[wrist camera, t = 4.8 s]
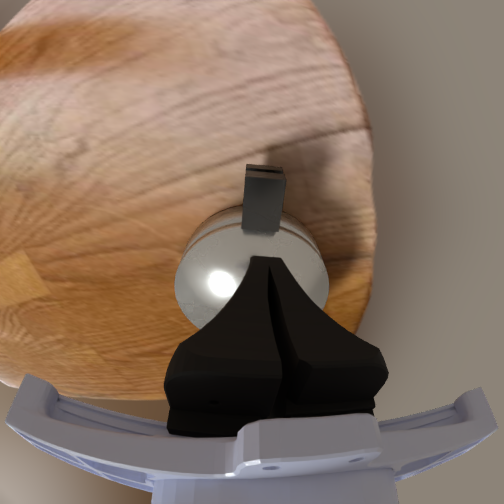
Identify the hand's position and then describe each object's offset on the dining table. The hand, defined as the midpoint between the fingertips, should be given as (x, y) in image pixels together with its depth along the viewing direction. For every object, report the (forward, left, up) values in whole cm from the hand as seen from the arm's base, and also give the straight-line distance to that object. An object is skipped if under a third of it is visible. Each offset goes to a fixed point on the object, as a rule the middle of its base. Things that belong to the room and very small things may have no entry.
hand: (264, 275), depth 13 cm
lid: (-5, 0, -7) cm, 9 cm away
